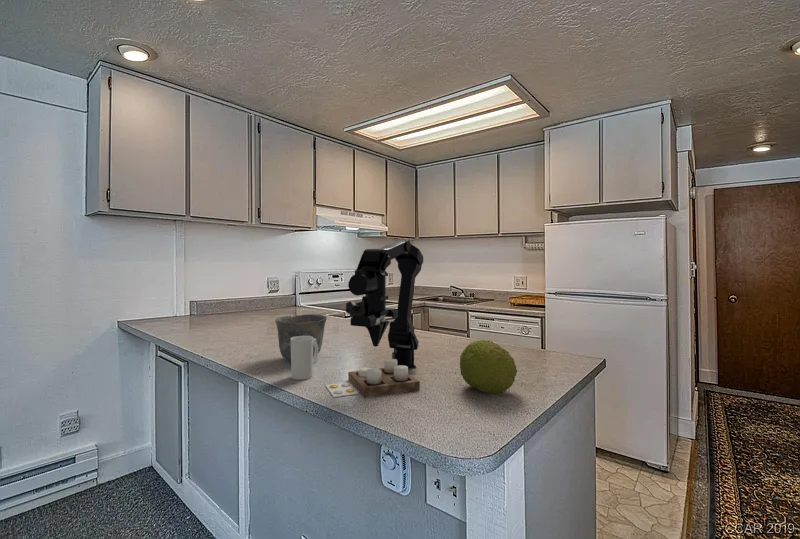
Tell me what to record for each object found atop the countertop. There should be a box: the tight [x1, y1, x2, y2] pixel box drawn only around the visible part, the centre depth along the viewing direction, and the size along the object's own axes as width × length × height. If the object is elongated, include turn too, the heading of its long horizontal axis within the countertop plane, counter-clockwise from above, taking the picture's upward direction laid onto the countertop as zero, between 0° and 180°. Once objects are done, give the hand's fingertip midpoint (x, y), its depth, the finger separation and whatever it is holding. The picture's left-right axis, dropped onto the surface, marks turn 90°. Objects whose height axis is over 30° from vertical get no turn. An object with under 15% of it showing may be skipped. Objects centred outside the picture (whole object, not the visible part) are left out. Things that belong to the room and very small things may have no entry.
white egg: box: [357, 367, 371, 378], centre depth 115 cm, size 4×4×3 cm
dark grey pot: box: [274, 313, 327, 362], centre depth 140 cm, size 18×18×15 cm
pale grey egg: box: [383, 358, 397, 373], centre depth 118 cm, size 4×4×3 cm
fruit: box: [459, 339, 518, 394], centre depth 109 cm, size 16×14×15 cm
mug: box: [290, 336, 319, 381], centre depth 122 cm, size 10×7×12 cm, turn 147°
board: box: [347, 367, 421, 399], centre depth 113 cm, size 16×16×2 cm
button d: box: [367, 367, 381, 384], centre depth 108 cm, size 4×4×3 cm
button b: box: [394, 365, 409, 381], centre depth 111 cm, size 4×4×3 cm
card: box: [325, 381, 360, 399], centre depth 109 cm, size 7×10×1 cm
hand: (375, 346), depth 114 cm, fingers closed
